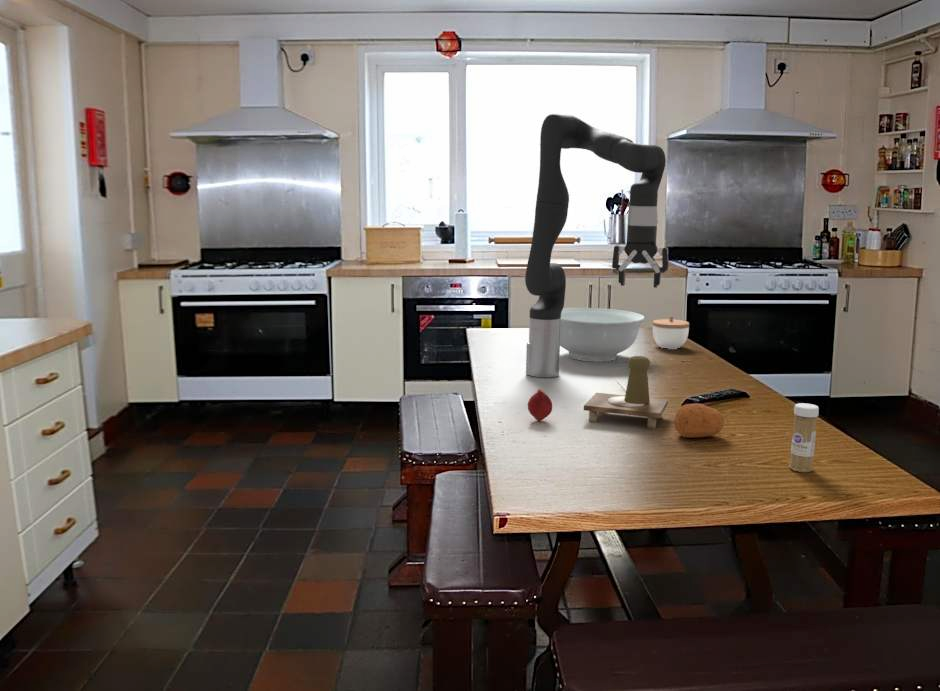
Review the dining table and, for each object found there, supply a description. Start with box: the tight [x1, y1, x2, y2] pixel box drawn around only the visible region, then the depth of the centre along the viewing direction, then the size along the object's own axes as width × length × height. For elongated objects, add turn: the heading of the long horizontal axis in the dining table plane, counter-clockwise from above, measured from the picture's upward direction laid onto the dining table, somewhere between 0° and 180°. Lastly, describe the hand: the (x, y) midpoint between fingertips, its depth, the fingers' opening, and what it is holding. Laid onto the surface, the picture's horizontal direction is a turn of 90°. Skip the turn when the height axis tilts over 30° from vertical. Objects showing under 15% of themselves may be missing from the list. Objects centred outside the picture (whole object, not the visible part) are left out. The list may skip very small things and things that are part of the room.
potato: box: [673, 402, 725, 439], centre depth 198 cm, size 9×11×8 cm
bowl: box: [560, 307, 646, 363], centre depth 285 cm, size 32×32×15 cm
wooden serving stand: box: [583, 392, 669, 430], centre depth 212 cm, size 18×14×5 cm
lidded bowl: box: [652, 315, 690, 350], centre depth 305 cm, size 13×13×11 cm
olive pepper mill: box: [624, 355, 651, 404], centre depth 210 cm, size 6×6×11 cm
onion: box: [527, 387, 553, 422], centre depth 208 cm, size 6×6×8 cm
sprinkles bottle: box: [788, 402, 820, 473], centre depth 175 cm, size 5×5×14 cm
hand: (639, 286), depth 227 cm, fingers open, 8 cm apart
